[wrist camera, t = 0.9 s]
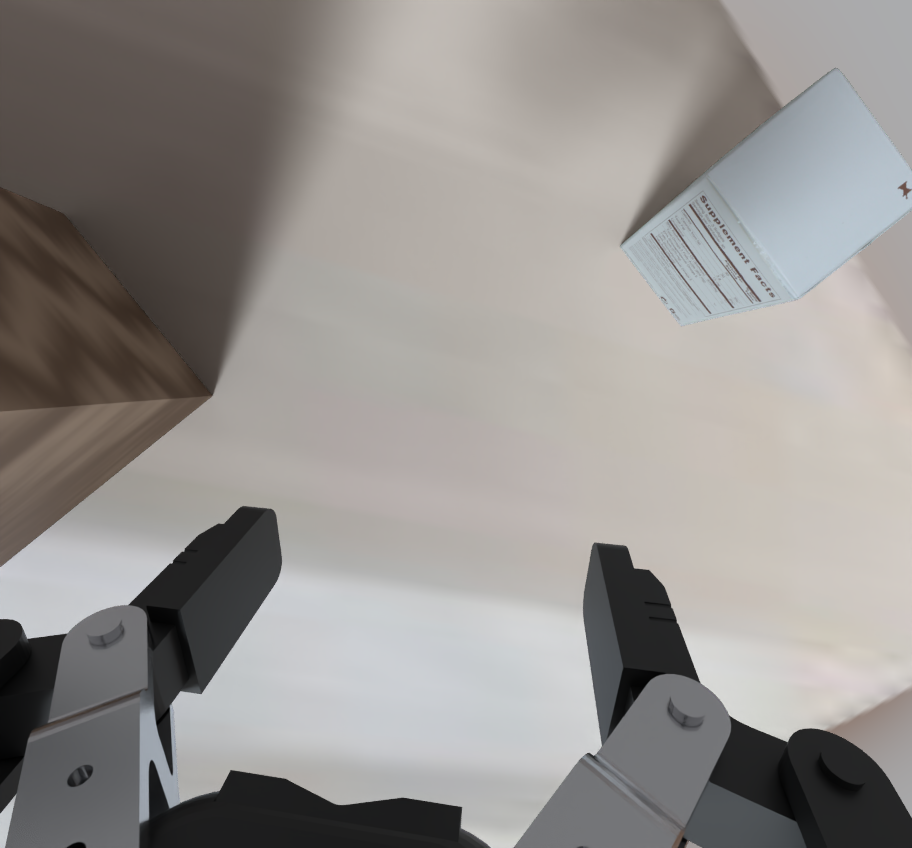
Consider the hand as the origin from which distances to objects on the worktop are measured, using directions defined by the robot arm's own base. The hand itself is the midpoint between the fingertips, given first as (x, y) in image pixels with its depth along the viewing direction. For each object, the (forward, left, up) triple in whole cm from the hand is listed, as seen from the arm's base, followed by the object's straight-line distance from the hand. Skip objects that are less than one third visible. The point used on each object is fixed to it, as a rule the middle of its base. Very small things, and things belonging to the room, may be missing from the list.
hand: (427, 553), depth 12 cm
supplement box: (-7, +20, -24) cm, 32 cm away
